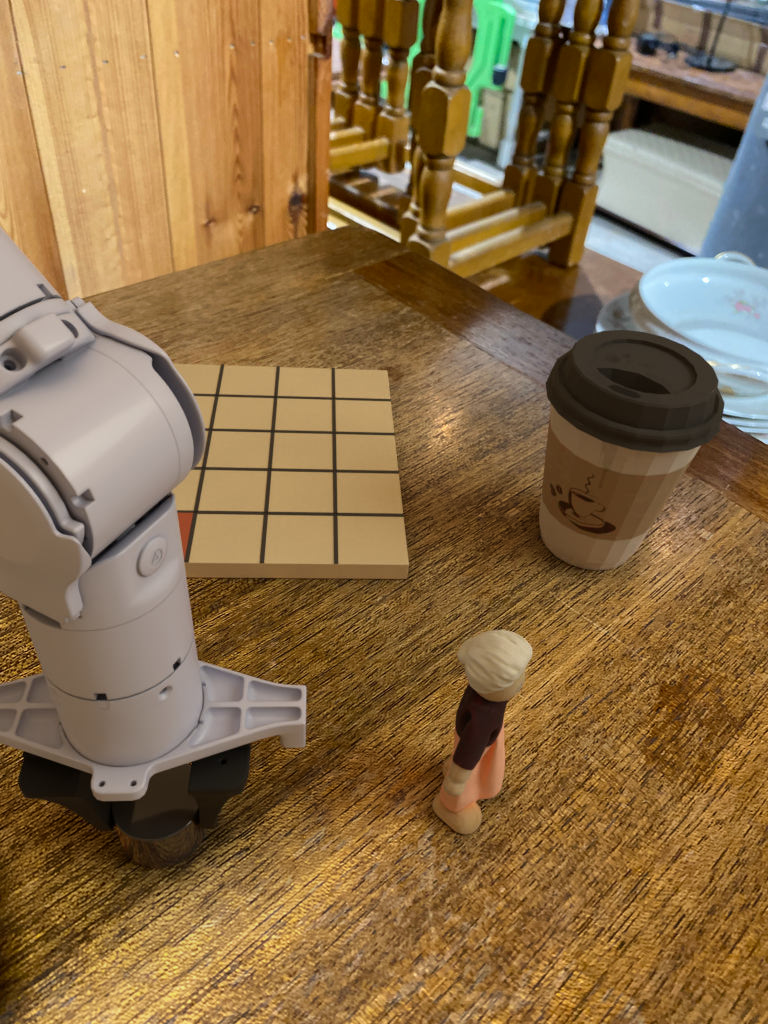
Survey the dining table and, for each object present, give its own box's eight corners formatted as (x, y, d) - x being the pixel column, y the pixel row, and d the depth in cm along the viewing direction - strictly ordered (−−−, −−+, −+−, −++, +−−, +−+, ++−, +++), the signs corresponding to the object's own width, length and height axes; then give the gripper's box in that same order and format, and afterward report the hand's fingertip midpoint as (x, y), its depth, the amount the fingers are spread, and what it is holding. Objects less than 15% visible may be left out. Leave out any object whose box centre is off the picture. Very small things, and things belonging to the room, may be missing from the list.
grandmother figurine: (495, 859, 40) (547, 720, 32) (421, 845, 40) (454, 703, 32) (502, 731, 46) (548, 584, 37) (438, 719, 46) (469, 571, 38)
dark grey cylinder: (112, 870, 38) (102, 841, 36) (129, 787, 42) (120, 757, 40) (203, 867, 39) (197, 839, 37) (212, 785, 42) (208, 756, 40)
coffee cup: (486, 549, 57) (524, 373, 47) (546, 471, 65) (590, 305, 55) (634, 617, 53) (711, 440, 43) (680, 526, 61) (754, 357, 51)
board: (113, 577, 53) (109, 560, 52) (168, 377, 71) (166, 362, 70) (407, 579, 54) (409, 563, 53) (386, 383, 73) (387, 369, 72)
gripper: (-124, 731, 26) (-16, 897, 36) (304, 727, 28) (303, 888, 37) (-50, 579, 32) (27, 757, 41) (307, 582, 33) (306, 754, 42)
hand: (160, 810), depth 39 cm, fingers closed on dark grey cylinder, 4 cm apart
